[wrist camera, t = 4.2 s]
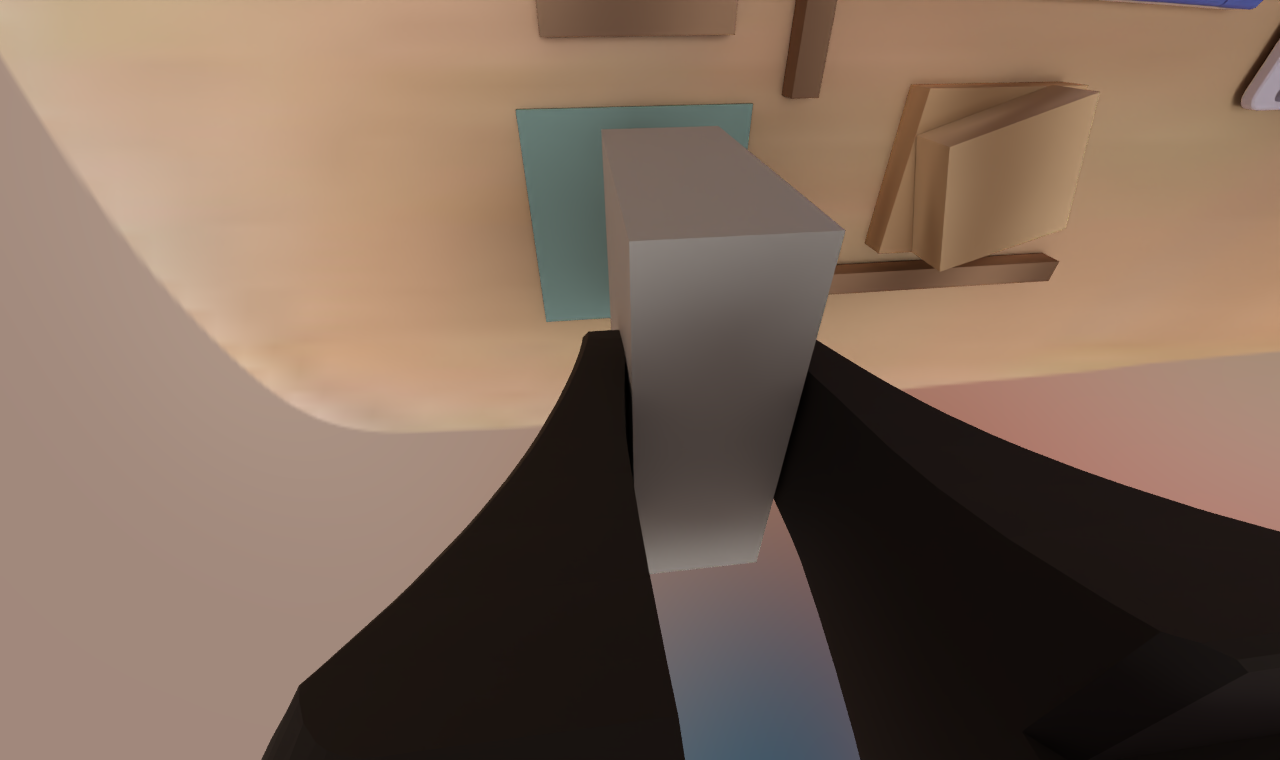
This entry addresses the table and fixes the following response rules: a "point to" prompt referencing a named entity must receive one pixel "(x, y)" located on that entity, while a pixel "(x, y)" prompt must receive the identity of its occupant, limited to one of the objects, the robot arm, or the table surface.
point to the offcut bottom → (920, 115)
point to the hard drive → (1201, 3)
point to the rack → (709, 7)
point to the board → (709, 332)
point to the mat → (589, 191)
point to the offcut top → (1000, 175)
